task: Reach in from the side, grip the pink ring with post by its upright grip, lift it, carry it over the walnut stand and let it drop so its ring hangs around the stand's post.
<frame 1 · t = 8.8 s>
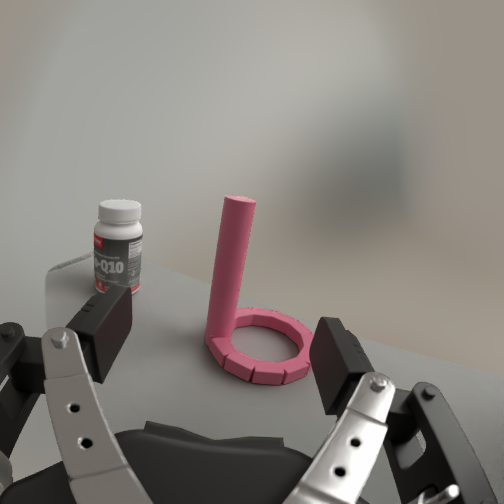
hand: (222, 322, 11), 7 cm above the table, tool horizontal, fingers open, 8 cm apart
pill bottle: (117, 288, 26), on the table
pink ring with post: (262, 347, 22), on the table
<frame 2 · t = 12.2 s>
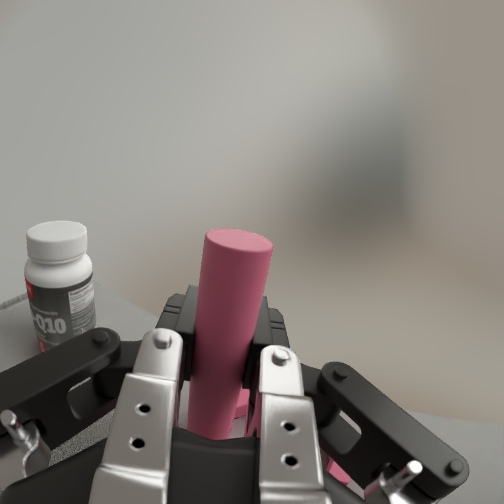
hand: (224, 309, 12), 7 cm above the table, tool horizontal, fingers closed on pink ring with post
pill bottle: (69, 345, 16), on the table
pink ring with post: (274, 452, 12), on the table, touching gripper
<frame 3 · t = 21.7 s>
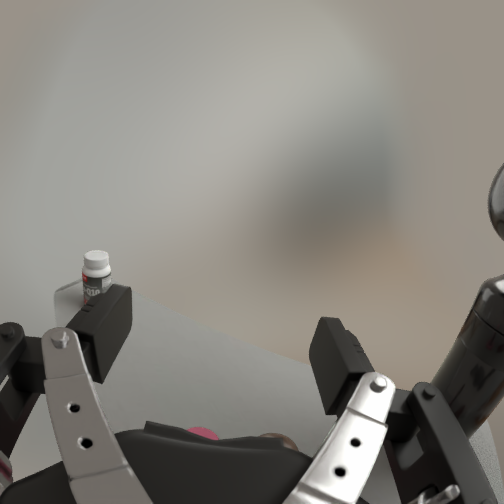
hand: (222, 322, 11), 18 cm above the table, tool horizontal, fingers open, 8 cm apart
pill bottle: (98, 303, 40), on the table
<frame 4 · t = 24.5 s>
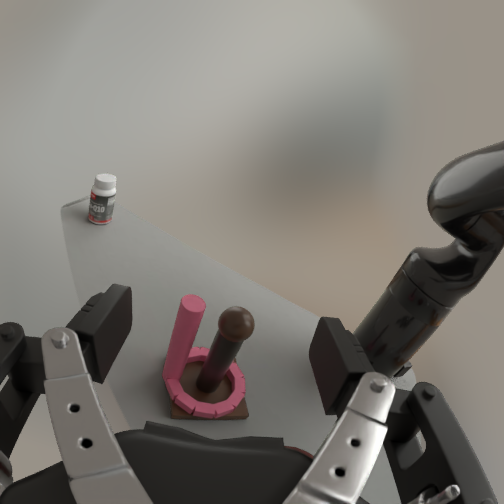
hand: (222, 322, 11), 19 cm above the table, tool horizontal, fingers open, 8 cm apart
pill bottle: (99, 219, 47), on the table
stand: (204, 388, 28), on the table
pink ring with post: (204, 383, 28), point 1 cm above the table, touching stand
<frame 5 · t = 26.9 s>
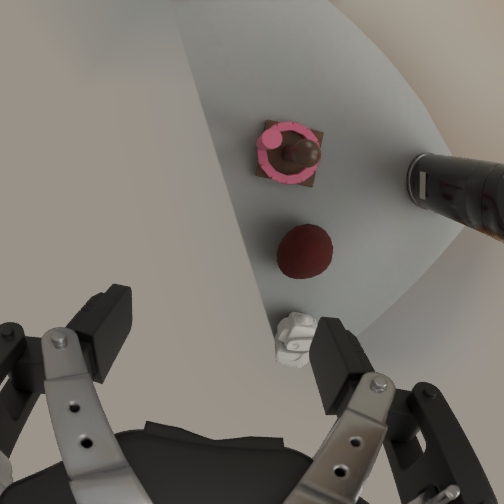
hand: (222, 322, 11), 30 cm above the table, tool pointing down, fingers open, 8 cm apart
white plastic gadget: (306, 315, 43), point 3 cm above the table
potato: (306, 247, 43), on the table
stand: (289, 153, 38), on the table
pink ring with post: (288, 152, 37), point 1 cm above the table, touching stand
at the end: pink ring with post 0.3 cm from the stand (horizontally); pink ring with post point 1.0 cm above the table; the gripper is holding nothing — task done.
